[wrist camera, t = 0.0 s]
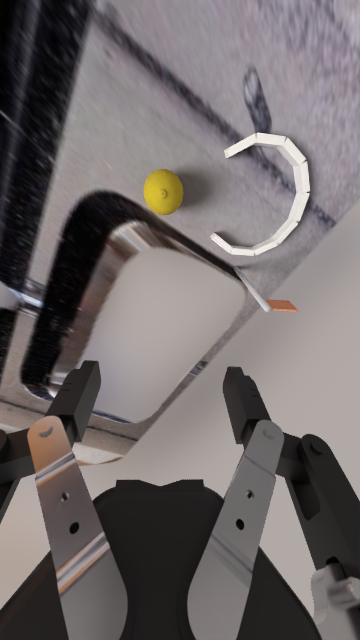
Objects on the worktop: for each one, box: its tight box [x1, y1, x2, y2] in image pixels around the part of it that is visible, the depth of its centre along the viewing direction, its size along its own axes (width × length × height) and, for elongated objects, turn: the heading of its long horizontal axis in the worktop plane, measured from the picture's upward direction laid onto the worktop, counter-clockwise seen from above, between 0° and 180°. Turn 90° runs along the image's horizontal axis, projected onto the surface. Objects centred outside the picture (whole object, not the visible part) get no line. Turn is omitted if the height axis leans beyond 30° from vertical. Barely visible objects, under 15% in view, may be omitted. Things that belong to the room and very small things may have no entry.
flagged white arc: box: [210, 133, 310, 312], centre depth 29 cm, size 19×14×16 cm
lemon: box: [144, 169, 183, 215], centre depth 30 cm, size 6×6×8 cm
